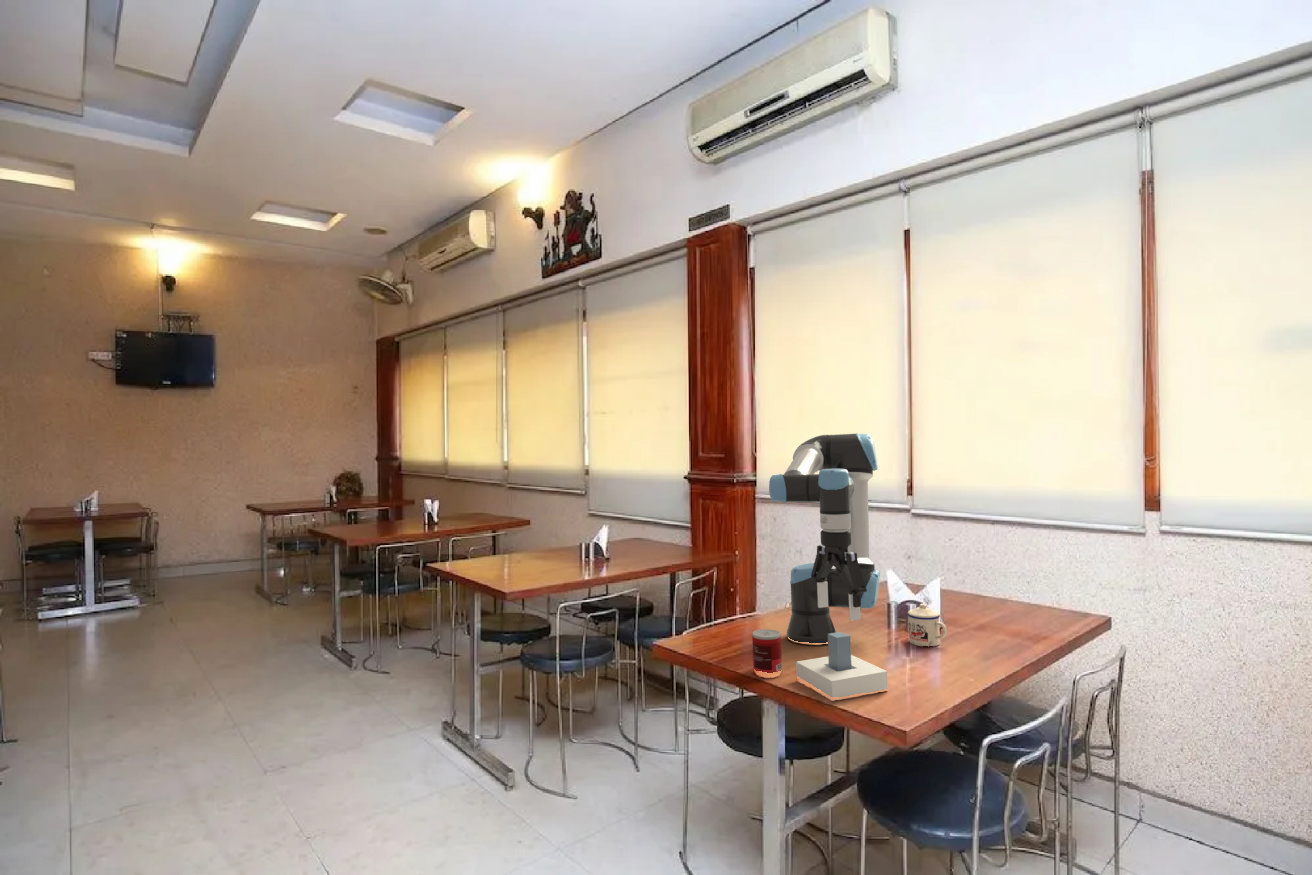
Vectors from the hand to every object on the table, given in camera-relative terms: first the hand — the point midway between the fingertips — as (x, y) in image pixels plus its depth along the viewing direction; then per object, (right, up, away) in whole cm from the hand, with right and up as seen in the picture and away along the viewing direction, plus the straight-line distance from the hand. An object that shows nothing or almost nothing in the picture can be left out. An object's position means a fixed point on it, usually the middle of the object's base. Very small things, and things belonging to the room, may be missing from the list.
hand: (838, 613), depth 175 cm
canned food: (-16, -19, +10) cm, 27 cm away
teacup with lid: (+35, -18, +32) cm, 51 cm away
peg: (0, -18, 0) cm, 18 cm away
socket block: (0, -18, 0) cm, 18 cm away
